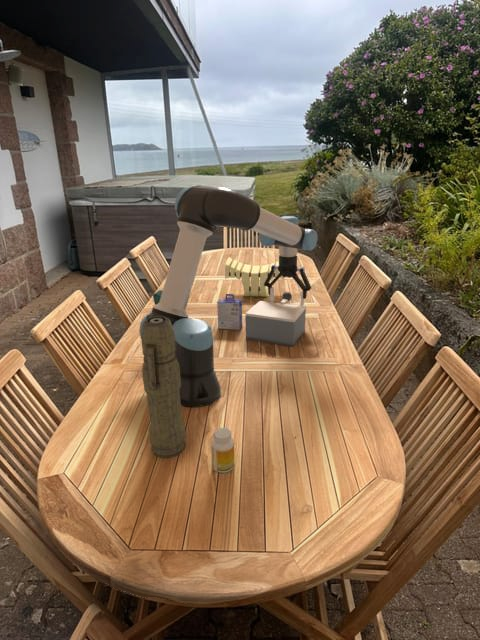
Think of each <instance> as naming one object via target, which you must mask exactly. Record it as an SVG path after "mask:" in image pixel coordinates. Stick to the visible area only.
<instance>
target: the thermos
mask: <svg viewBox="0 0 480 640" xmlns="http://www.w3.org/2000/svg"><path fill="white" fill-rule="evenodd" d="M140 339H141V340H140V341H141V347H142V348H141V349H142V355H143V358H142V359H143V364H142V368H141V372H142V382H143V383H142V384H143V390H144V392H145V394H146V400H147V406H148V407H147V408H148V417H149V426H148V436H149V444H150V445H151V446H150V447H151V452H152V454H153V455H155V456H156V457H157V458H161V459H170V458H174V457H177V456H179V455H181V454H182V453H183V451H185V448H186V440H185V439H186V429H185V428H186V427H185V421H184V419H183V415H182V405H181V402H180V387H181V377H180V366H179V363H178V361H177V359H176V354H175V351H176V346H175V334H174V329H173V326H172V324H171V322H170V320H169V319H168V318H165V317H162V316H155V317H151V318H148V319H146V320H145V321H144V322H143V325H142V329H141V338H140Z"/></svg>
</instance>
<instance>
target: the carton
mask: <svg viewBox="0 0 480 640" xmlns="http://www.w3.org/2000/svg"><path fill="white" fill-rule="evenodd" d="M306 312H307V309H305V310H304V312H303V313H302V314H301V315H300V316H299V318H298V319H297V320H296V321H295V322H287V321H280V320H273V319H266V318H259V317H252V316H245V317H244V318H245V340H250V341H256V342H262V343H267V344H268V343H269V344H273V345H275V344H276V345H279V346H280V345H281V346H287V347H291V348H292V347H293V348H294V347H295V345H296V344H297V343H298V341H299V340H300V339H301V337H303V335H304V333H305V332H306V314H307V313H306Z"/></svg>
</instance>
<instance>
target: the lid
mask: <svg viewBox="0 0 480 640" xmlns="http://www.w3.org/2000/svg"><path fill="white" fill-rule="evenodd" d="M281 297H282V300H280V302H274V301H273V302H270V301H266V300H259V301H258V302H256V304H255V305H253V306H252V307H251V308H250V309H248V310H247V311H246V312H245V316H252V317H259V318H266V319H273V320H280V321H287V322H295V321H296V320H297V319H298V318H299V316H300V315H301V314H302V313H303V312H304V310H305V309H306V308H307V306H305V305H303V306H300V305H297V304H290V303H289V304H288V303H287V302H289V301H291V300H292V297H293V296H292V293H291V292H289V291H284V292H283V294H282V296H281ZM306 310H307V309H306Z"/></svg>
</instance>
